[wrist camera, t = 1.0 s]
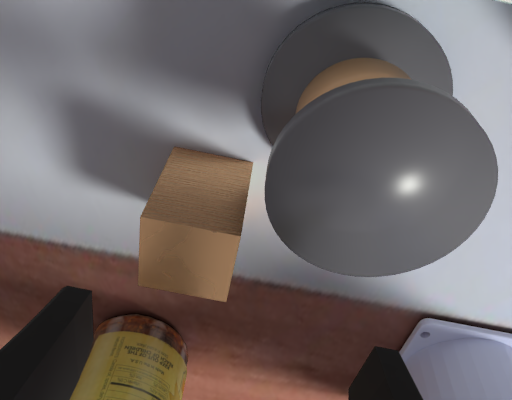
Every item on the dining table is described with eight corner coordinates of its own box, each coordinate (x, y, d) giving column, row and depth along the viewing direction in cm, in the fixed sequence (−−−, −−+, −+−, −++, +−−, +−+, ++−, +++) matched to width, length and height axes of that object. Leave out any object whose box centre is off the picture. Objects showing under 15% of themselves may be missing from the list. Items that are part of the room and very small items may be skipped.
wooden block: (240, 222, 21) (226, 302, 17) (169, 208, 21) (138, 285, 17) (253, 162, 19) (240, 236, 15) (174, 146, 19) (140, 216, 15)
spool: (403, 188, 19) (444, 305, 14) (248, 157, 19) (228, 264, 13) (481, 26, 15) (582, 104, 10) (284, -18, 15) (276, 38, 9)
